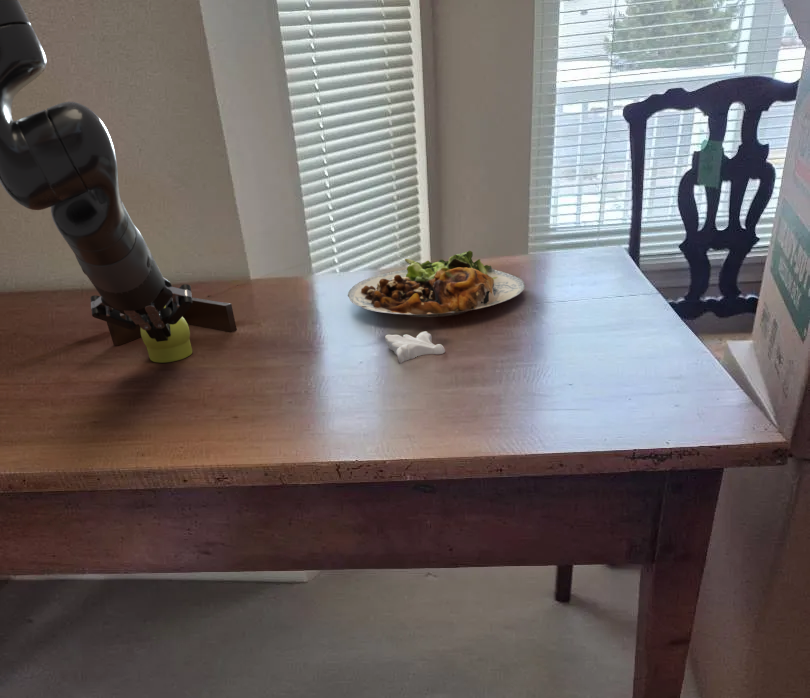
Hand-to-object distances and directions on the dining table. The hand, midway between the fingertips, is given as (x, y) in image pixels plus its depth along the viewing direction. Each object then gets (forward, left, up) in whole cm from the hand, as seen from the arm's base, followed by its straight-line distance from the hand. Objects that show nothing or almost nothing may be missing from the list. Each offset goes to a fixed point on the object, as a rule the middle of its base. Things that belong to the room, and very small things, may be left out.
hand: (161, 334), depth 99 cm
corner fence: (+8, +9, -4) cm, 13 cm away
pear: (+2, +3, -4) cm, 5 cm away
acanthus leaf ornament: (+18, -29, -4) cm, 35 cm away
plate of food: (+38, -19, -4) cm, 43 cm away
